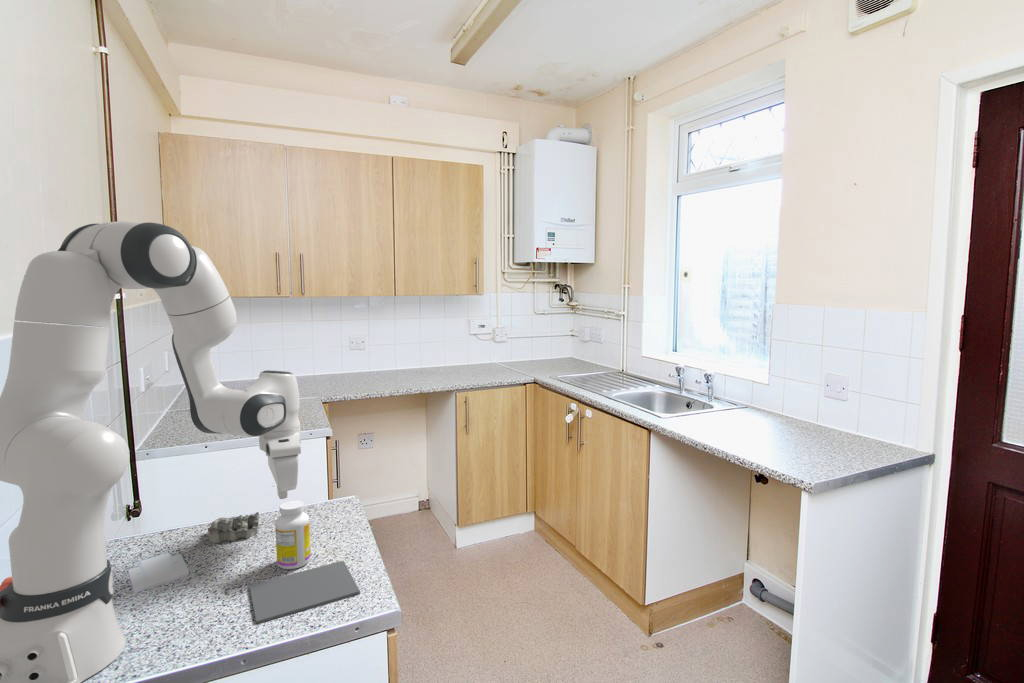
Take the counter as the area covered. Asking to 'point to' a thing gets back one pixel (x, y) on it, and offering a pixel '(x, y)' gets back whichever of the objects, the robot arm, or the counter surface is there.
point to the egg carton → (224, 527)
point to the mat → (301, 591)
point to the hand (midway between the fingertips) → (282, 496)
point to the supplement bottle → (292, 536)
